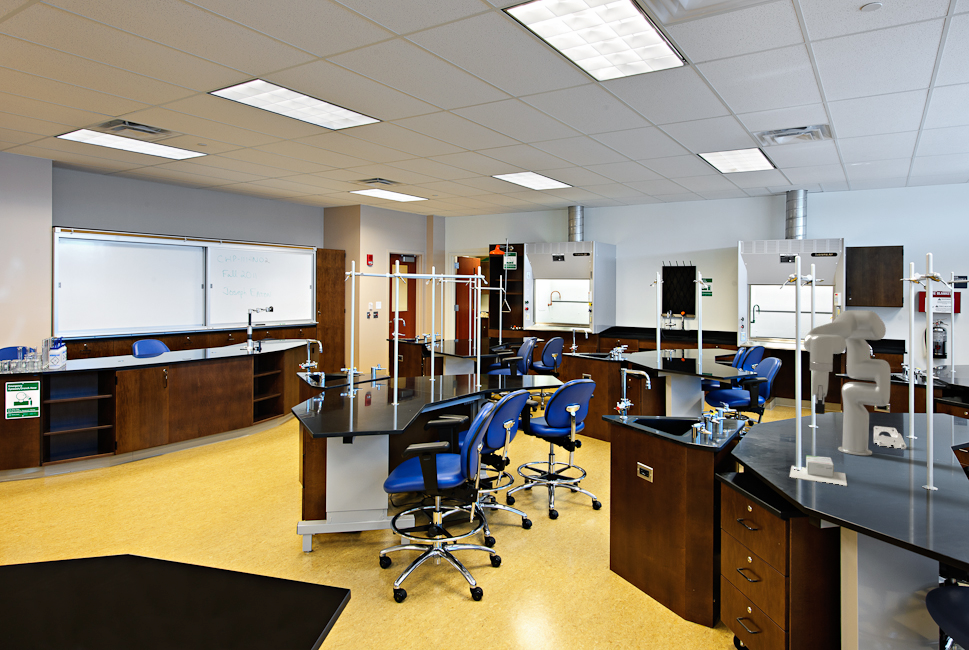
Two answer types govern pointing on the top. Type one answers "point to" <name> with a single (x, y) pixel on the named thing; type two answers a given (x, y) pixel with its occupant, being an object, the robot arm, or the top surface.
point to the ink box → (819, 466)
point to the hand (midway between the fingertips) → (819, 413)
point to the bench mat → (819, 477)
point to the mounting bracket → (888, 441)
